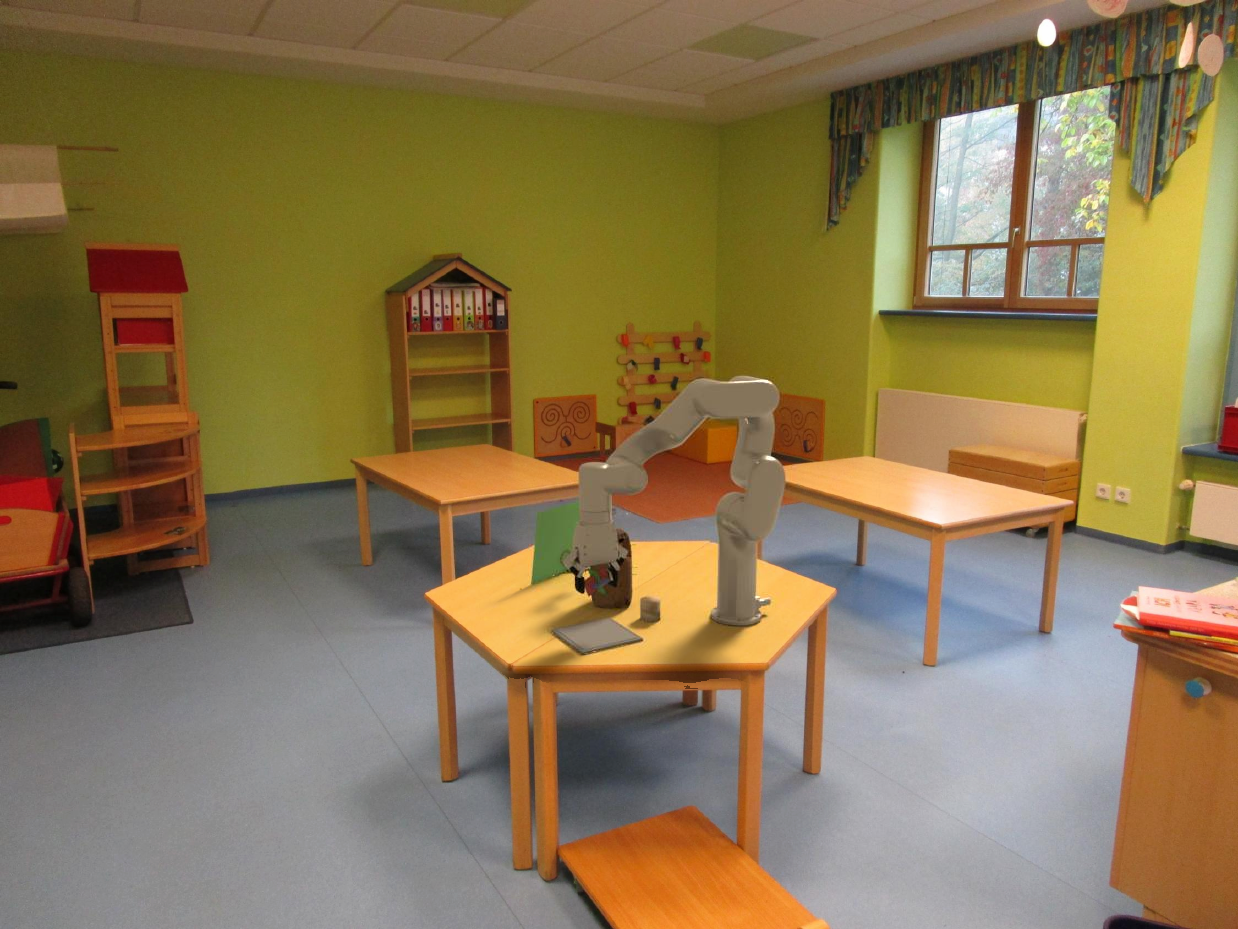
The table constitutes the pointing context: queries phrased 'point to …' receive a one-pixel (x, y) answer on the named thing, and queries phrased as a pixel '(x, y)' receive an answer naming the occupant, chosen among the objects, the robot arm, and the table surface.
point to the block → (623, 591)
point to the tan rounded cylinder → (650, 609)
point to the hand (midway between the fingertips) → (596, 588)
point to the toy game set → (555, 540)
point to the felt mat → (596, 635)
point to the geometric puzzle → (597, 581)
